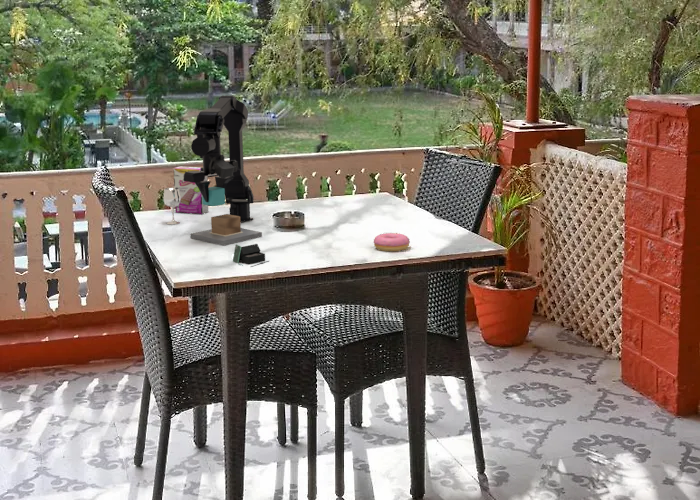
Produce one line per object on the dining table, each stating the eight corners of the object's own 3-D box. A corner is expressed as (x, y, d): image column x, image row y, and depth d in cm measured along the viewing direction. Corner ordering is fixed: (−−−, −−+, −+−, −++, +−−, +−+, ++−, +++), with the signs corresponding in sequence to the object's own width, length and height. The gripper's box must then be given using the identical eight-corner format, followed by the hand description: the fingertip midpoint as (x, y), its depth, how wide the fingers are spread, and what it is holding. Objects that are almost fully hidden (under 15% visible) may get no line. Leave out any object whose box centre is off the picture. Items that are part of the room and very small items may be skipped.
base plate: (229, 229, 315) (228, 224, 314) (261, 236, 304) (261, 231, 304) (190, 238, 303) (190, 232, 303) (223, 245, 293) (223, 240, 292)
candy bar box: (174, 213, 344) (172, 167, 340) (181, 210, 348) (179, 166, 344) (202, 214, 340) (200, 169, 336) (209, 212, 345) (207, 167, 341)
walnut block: (227, 229, 308) (226, 214, 307) (240, 231, 303) (240, 216, 302) (211, 232, 303) (211, 217, 302) (225, 235, 299) (224, 219, 298)
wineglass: (174, 225, 322) (172, 190, 319) (161, 223, 325) (159, 189, 322) (185, 222, 327) (183, 188, 324) (173, 220, 330) (171, 186, 327)
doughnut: (398, 243, 295) (398, 229, 294) (416, 250, 285) (416, 236, 284) (367, 246, 290) (367, 233, 289) (384, 254, 280) (384, 240, 279)
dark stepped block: (256, 253, 284) (255, 235, 283) (288, 262, 273) (287, 243, 272) (214, 262, 274) (213, 243, 273) (246, 271, 263) (245, 252, 262)
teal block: (215, 202, 305) (214, 186, 304) (225, 203, 301) (224, 188, 300) (202, 204, 301) (201, 188, 300) (212, 206, 298) (211, 190, 297)
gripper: (203, 157, 285) (206, 208, 289) (251, 150, 299) (253, 199, 302) (181, 154, 293) (183, 203, 297) (228, 147, 306) (230, 195, 310)
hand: (213, 200), depth 301 cm, fingers closed on teal block, 5 cm apart
